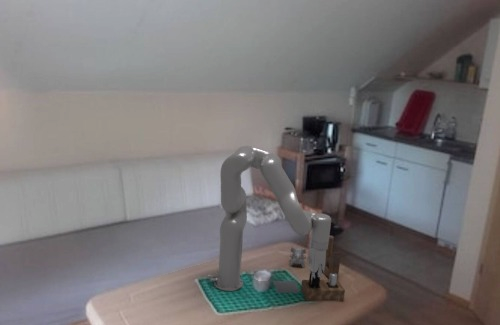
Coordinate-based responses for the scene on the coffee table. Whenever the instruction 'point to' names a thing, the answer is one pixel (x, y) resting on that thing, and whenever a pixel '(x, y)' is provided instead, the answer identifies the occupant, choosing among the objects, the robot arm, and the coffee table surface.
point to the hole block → (322, 291)
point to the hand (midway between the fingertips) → (314, 283)
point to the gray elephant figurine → (297, 256)
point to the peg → (311, 280)
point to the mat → (286, 287)
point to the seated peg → (332, 280)
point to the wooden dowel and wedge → (332, 259)
